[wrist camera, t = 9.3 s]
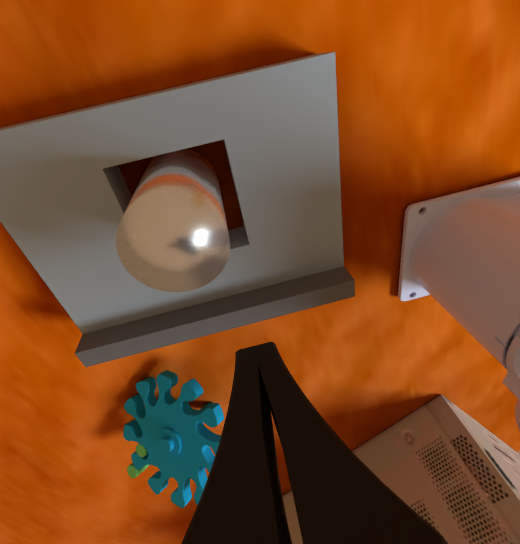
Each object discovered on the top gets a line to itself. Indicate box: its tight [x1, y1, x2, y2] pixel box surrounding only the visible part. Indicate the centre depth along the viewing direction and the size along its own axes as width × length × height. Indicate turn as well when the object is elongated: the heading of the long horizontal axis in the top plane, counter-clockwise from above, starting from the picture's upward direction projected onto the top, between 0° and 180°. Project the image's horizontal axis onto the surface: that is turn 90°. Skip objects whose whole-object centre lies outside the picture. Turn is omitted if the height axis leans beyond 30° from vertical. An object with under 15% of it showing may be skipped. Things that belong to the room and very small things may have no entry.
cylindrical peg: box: [116, 149, 230, 292], centre depth 14 cm, size 4×4×7 cm
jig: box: [0, 52, 355, 367], centre depth 16 cm, size 16×12×4 cm
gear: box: [124, 370, 224, 508], centre depth 25 cm, size 11×6×10 cm
